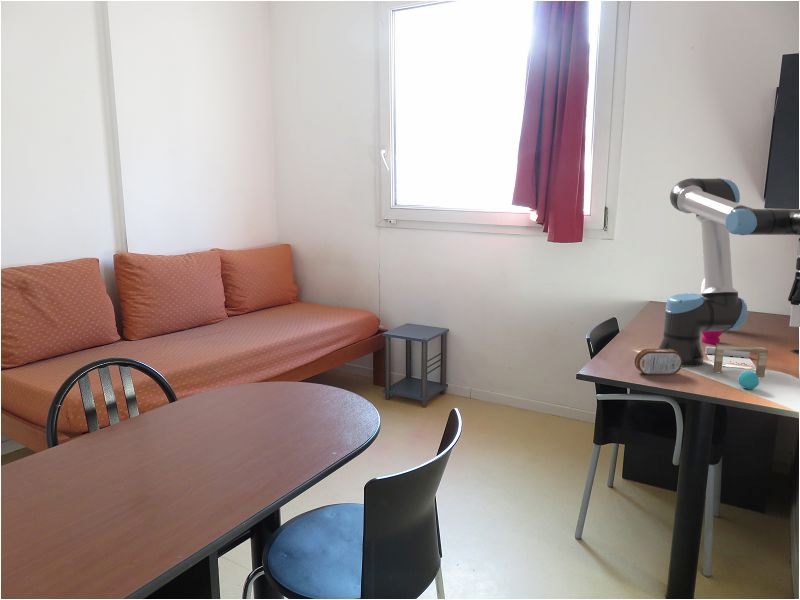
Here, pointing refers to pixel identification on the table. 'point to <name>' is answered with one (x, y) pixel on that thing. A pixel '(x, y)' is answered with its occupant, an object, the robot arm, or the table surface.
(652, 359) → the tin
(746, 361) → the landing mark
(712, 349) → the stopper wall
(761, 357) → the bridge
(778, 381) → the table surface
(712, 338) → the pepper mill
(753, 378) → the ball
